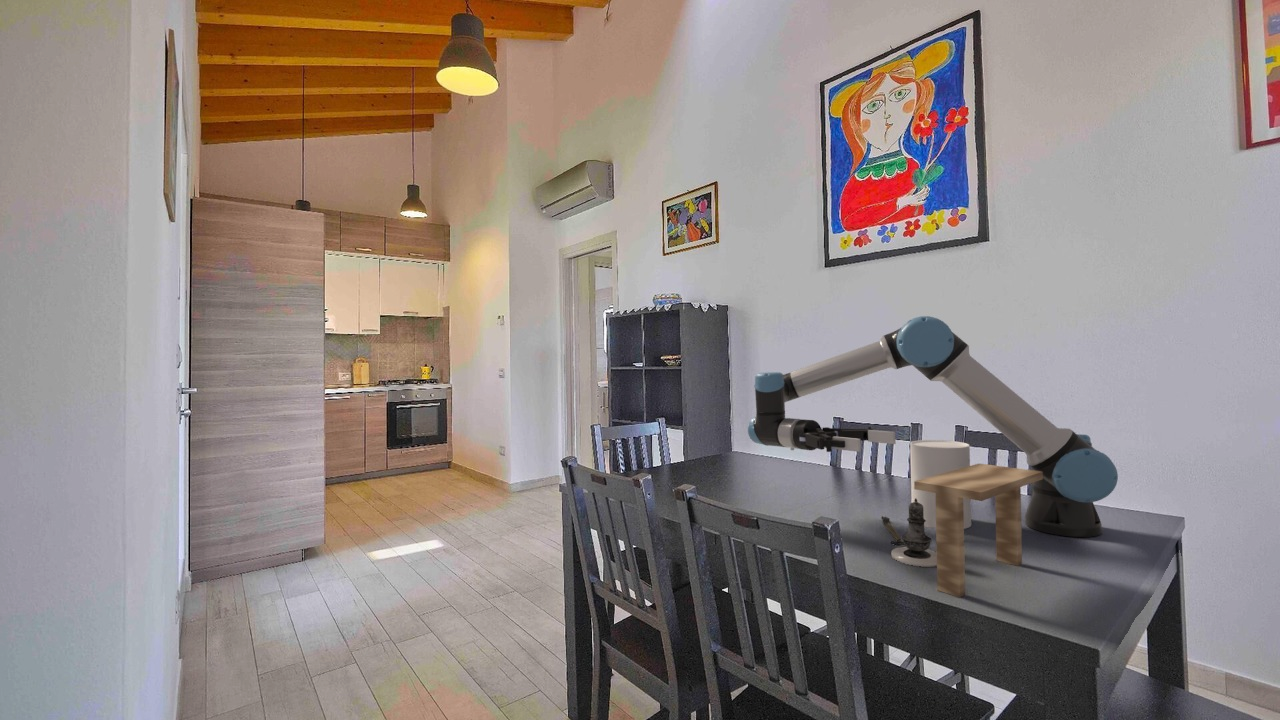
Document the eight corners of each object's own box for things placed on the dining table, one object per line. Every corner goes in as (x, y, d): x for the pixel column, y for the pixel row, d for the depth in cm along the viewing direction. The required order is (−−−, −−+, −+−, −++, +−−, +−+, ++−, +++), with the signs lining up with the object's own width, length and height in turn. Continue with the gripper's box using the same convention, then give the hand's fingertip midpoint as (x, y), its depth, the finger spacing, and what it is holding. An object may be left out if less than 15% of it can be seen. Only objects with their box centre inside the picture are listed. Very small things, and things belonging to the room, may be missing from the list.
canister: (917, 528, 146) (915, 447, 146) (907, 513, 159) (906, 439, 159) (977, 531, 142) (976, 448, 142) (963, 515, 155) (961, 440, 155)
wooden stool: (916, 583, 111) (914, 481, 111) (980, 553, 127) (978, 463, 127) (983, 604, 102) (981, 492, 102) (1044, 569, 117) (1042, 471, 117)
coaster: (931, 550, 129) (931, 546, 129) (952, 566, 119) (952, 563, 119) (884, 550, 130) (884, 546, 130) (901, 566, 120) (901, 563, 120)
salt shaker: (896, 550, 128) (895, 495, 127) (922, 549, 128) (921, 494, 128) (911, 560, 122) (910, 502, 122) (938, 558, 122) (937, 501, 122)
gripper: (832, 443, 156) (908, 451, 138) (767, 455, 141) (844, 466, 124) (830, 414, 156) (907, 419, 138) (766, 424, 141) (842, 430, 124)
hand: (877, 441), depth 131 cm, fingers open, 13 cm apart
